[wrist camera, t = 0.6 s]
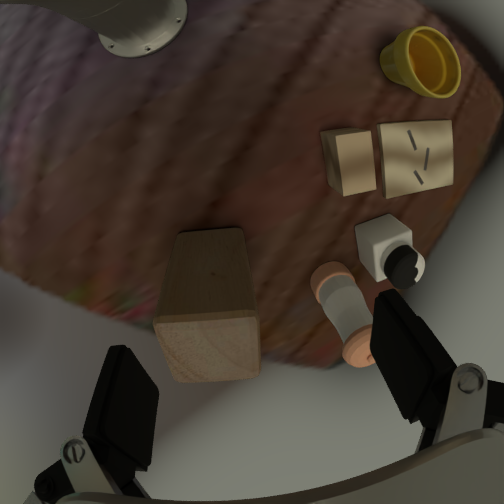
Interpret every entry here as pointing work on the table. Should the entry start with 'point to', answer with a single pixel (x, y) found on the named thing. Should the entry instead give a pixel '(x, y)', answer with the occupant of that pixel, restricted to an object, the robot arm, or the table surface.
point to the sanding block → (349, 160)
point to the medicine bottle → (389, 251)
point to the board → (415, 156)
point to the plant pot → (422, 62)
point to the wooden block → (209, 309)
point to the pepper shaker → (345, 310)
